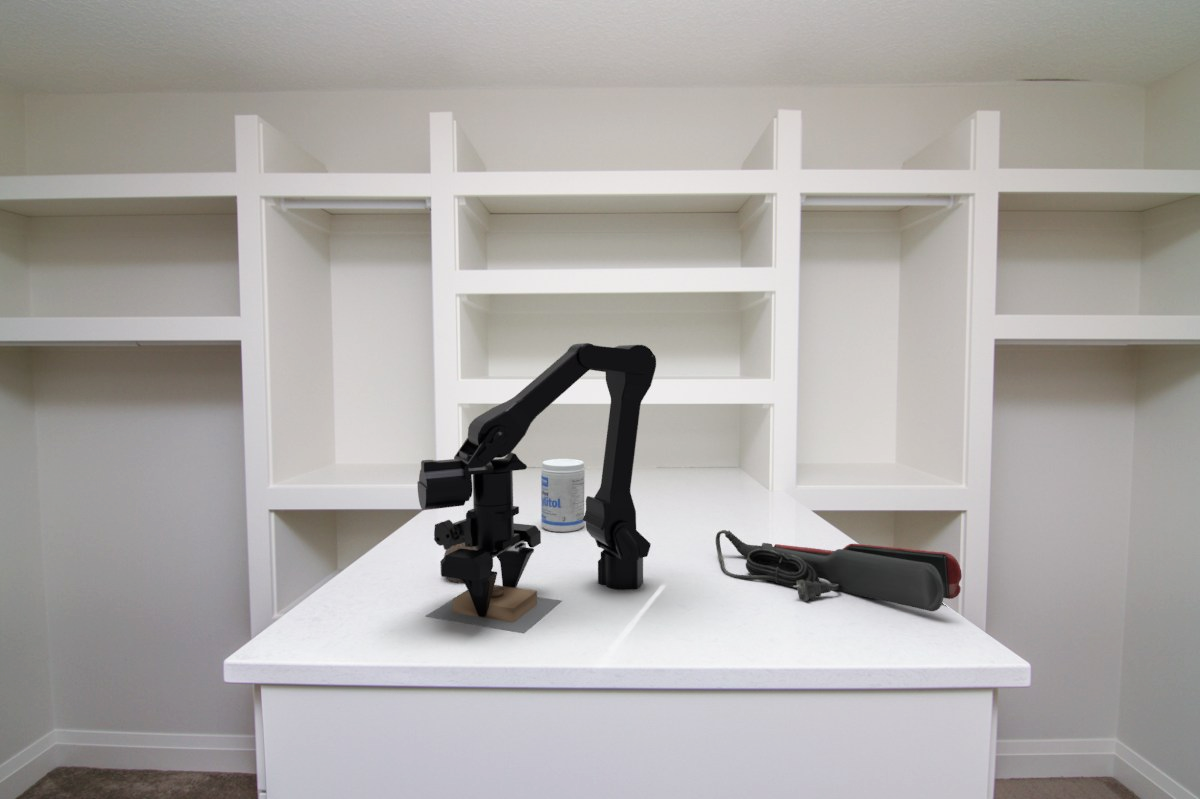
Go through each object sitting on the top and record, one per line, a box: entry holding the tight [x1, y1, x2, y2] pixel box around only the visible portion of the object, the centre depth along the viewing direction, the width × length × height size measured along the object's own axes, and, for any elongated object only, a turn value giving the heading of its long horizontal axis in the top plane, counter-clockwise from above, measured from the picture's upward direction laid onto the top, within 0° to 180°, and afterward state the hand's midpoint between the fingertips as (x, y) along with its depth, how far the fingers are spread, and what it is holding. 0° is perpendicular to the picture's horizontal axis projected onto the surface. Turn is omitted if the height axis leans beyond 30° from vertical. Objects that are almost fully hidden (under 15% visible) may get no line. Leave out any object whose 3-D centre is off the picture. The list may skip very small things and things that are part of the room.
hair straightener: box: [715, 529, 963, 612], centre depth 103 cm, size 16×40×8 cm, turn 45°
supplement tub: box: [540, 458, 586, 533], centre depth 140 cm, size 10×10×15 cm
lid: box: [452, 584, 538, 622], centre depth 93 cm, size 10×7×3 cm
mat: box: [425, 596, 563, 634], centre depth 93 cm, size 16×12×1 cm
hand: (495, 606), depth 93 cm, fingers closed on lid, 7 cm apart
